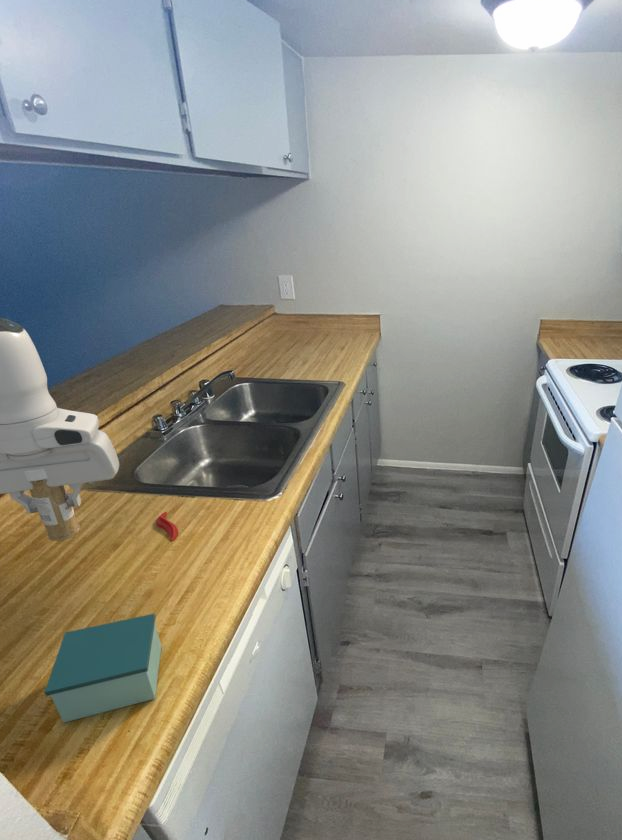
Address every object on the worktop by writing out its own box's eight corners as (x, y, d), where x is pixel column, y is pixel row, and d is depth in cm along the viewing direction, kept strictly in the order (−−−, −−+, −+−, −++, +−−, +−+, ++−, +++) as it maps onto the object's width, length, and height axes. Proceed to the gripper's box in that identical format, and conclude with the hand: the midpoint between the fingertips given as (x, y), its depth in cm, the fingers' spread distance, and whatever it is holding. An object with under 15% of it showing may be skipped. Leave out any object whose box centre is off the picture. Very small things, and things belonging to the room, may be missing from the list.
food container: (60, 725, 68) (44, 692, 64) (78, 664, 77) (65, 632, 73) (157, 700, 72) (146, 667, 68) (163, 644, 81) (154, 613, 77)
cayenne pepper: (156, 514, 113) (155, 508, 112) (177, 510, 114) (176, 504, 113) (155, 545, 103) (153, 538, 102) (178, 540, 105) (176, 533, 104)
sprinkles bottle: (86, 531, 78) (60, 461, 72) (55, 546, 75) (26, 473, 68) (73, 521, 80) (47, 452, 74) (42, 535, 77) (13, 464, 71)
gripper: (-75, 449, 63) (-34, 532, 69) (100, 430, 69) (123, 508, 76) (-53, 429, 68) (-17, 508, 74) (108, 414, 75) (129, 487, 81)
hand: (55, 508), depth 75 cm, fingers closed on sprinkles bottle, 4 cm apart
